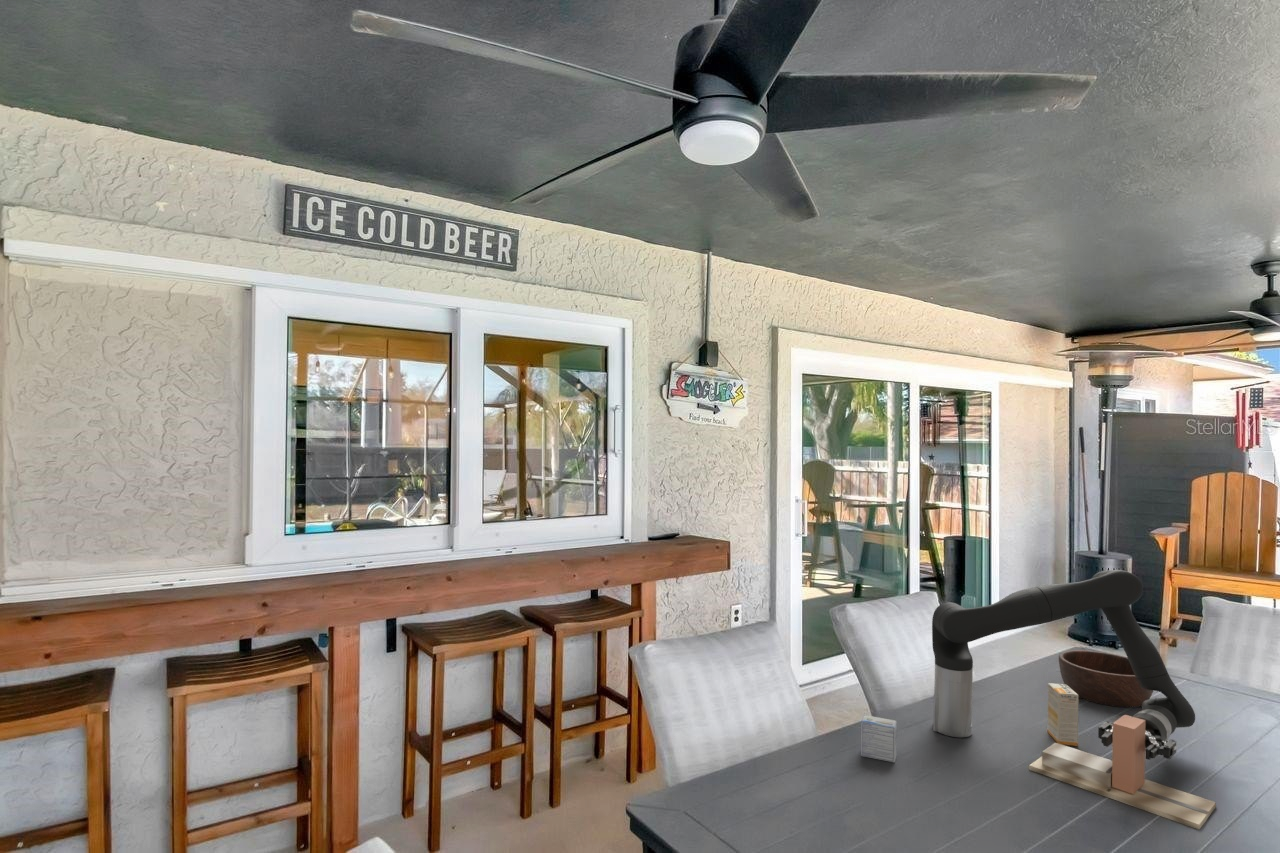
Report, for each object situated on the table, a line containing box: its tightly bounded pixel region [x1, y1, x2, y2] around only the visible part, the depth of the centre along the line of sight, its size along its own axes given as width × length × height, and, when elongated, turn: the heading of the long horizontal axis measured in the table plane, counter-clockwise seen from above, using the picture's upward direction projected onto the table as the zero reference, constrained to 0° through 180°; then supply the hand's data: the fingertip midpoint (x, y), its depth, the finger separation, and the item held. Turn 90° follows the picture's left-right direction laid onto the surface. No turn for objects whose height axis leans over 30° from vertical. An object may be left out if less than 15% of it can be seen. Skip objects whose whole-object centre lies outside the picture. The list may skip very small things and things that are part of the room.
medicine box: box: [860, 715, 898, 763], centre depth 171 cm, size 8×4×9 cm, turn 65°
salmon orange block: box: [1111, 714, 1146, 794], centre depth 157 cm, size 4×8×14 cm, turn 130°
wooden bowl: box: [1058, 649, 1154, 708], centre depth 216 cm, size 25×25×10 cm
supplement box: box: [1046, 682, 1079, 747], centre depth 184 cm, size 8×5×13 cm, turn 168°
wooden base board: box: [1028, 742, 1217, 830], centre depth 158 cm, size 32×14×4 cm, turn 40°
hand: (1126, 748), depth 155 cm, fingers open, 7 cm apart
